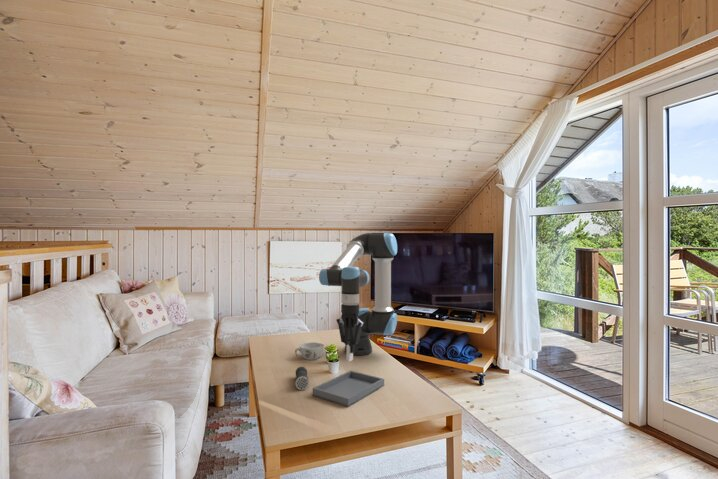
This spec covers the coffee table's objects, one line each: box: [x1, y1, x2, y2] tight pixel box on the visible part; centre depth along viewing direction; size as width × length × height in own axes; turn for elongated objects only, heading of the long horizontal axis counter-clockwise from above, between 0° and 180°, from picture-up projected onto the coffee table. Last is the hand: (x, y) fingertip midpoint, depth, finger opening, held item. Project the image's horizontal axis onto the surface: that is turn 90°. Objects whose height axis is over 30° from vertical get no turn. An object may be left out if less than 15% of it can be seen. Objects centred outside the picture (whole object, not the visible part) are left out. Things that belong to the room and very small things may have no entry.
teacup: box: [294, 342, 325, 361], centre depth 198 cm, size 15×12×8 cm
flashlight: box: [295, 366, 310, 391], centre depth 166 cm, size 15×5×5 cm
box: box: [312, 370, 385, 408], centre depth 158 cm, size 26×18×3 cm
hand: (349, 360), depth 158 cm, fingers closed
